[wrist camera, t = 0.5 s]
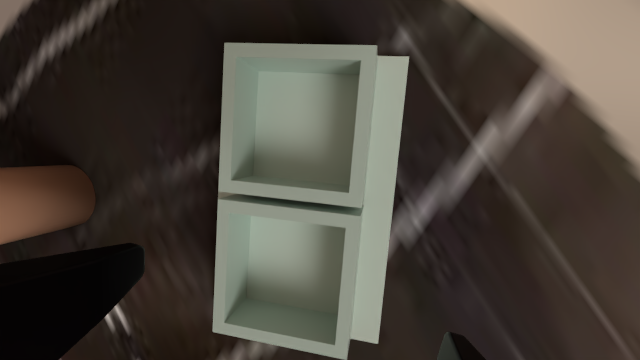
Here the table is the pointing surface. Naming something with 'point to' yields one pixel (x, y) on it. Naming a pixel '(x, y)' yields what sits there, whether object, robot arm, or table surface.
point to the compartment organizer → (306, 192)
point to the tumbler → (43, 200)
